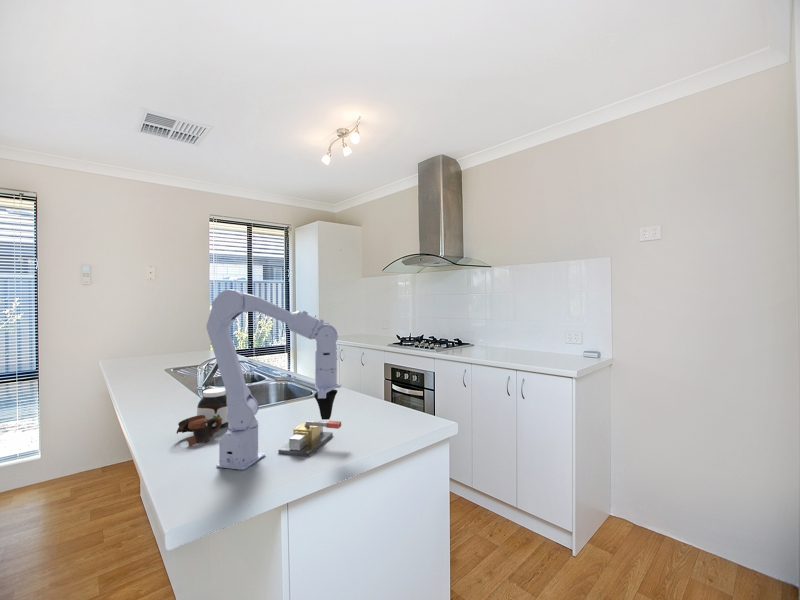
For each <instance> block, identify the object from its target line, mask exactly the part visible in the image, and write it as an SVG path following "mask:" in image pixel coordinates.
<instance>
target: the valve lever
mask: <svg viewBox="0 0 800 600" xmlns="http://www.w3.org/2000/svg"><path fill="white" fill-rule="evenodd" d="M305 423H306V424H305V427H309V426H322V427H323V428H327V429H340V428H341V427H342V421H338V420H328V421H327V420H326V421H325V420H314V419H313V420H312V419H307V420H306V421H305Z"/></svg>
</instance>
